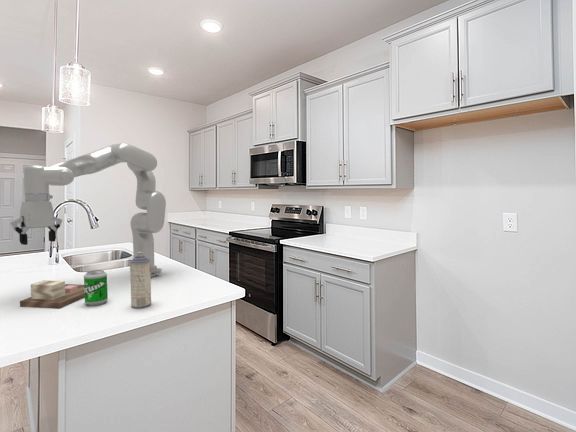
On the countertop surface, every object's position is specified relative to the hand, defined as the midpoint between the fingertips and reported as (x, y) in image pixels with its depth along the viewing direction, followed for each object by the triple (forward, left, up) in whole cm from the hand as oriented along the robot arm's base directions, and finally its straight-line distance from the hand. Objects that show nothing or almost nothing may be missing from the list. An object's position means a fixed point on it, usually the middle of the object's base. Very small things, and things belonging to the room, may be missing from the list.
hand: (38, 242), depth 125 cm
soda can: (-24, +1, -23) cm, 33 cm away
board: (-7, -3, -22) cm, 24 cm away
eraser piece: (-7, -6, -20) cm, 22 cm away
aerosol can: (-42, +1, -23) cm, 47 cm away
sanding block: (-7, +4, -20) cm, 22 cm away
